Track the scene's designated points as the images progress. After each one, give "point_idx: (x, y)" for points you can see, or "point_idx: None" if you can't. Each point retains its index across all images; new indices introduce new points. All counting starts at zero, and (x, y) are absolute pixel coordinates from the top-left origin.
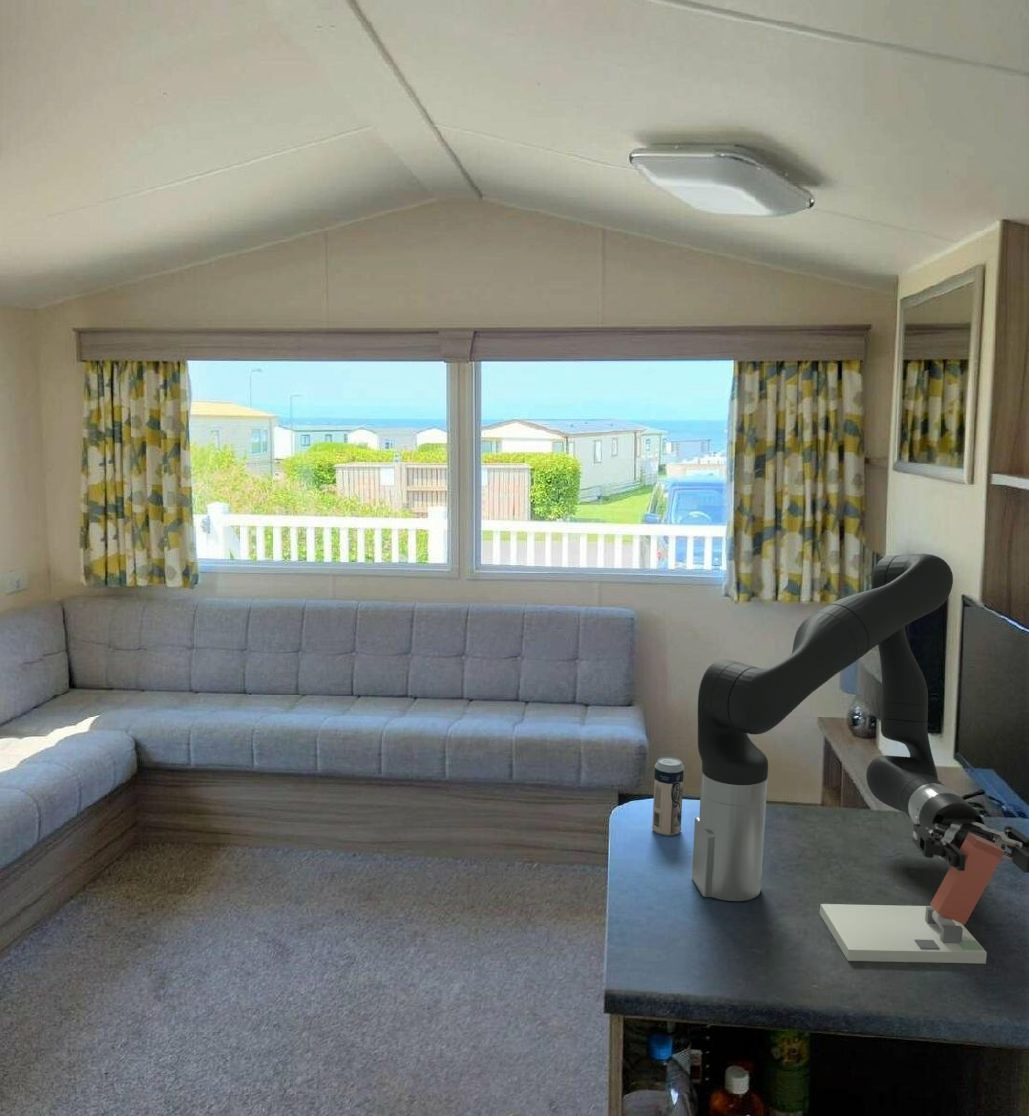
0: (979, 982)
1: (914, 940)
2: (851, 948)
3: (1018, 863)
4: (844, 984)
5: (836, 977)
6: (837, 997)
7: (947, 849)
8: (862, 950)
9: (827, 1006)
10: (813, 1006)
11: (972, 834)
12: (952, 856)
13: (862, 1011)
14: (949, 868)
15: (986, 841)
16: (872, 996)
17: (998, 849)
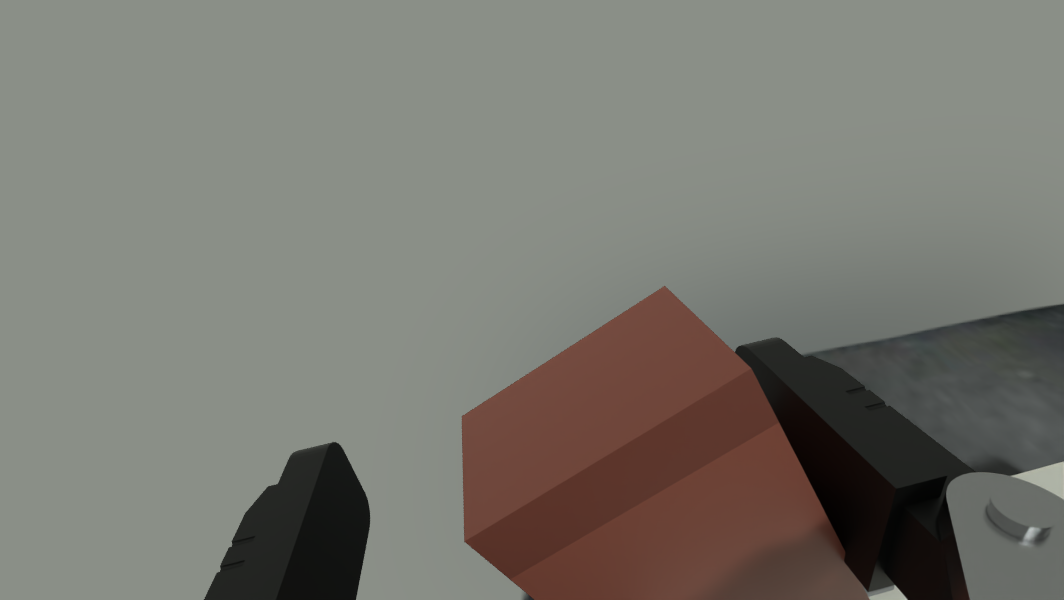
0: None
1: (895, 594)
2: (1062, 469)
3: (342, 594)
4: (966, 396)
5: (1008, 412)
6: (944, 358)
7: (914, 442)
8: (1022, 475)
9: (941, 334)
10: (966, 327)
11: (709, 357)
12: (826, 365)
13: (871, 342)
14: (864, 589)
15: (577, 406)
16: (879, 380)
17: (507, 389)
